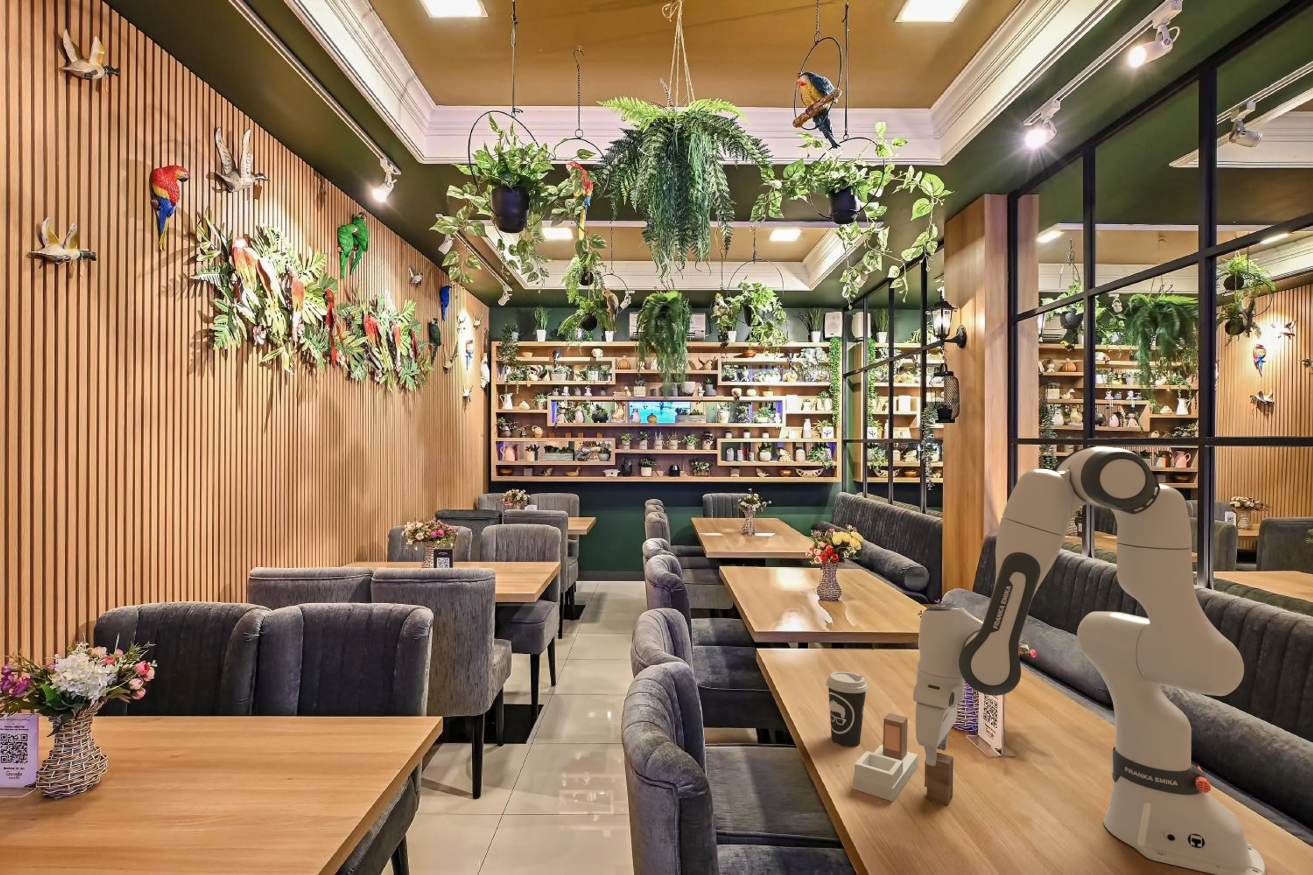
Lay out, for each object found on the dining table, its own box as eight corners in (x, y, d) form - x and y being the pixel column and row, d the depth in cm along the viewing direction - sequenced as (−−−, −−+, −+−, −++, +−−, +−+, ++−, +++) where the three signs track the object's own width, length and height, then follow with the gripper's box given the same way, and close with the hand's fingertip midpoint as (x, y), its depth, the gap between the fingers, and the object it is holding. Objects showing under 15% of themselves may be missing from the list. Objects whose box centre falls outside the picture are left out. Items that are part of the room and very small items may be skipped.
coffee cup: (868, 751, 153) (870, 685, 153) (825, 746, 154) (827, 681, 155) (864, 734, 162) (866, 672, 162) (823, 730, 164) (825, 668, 164)
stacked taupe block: (928, 789, 136) (929, 749, 136) (952, 796, 133) (953, 756, 134) (923, 797, 133) (924, 756, 133) (948, 805, 130) (949, 763, 130)
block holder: (917, 765, 146) (918, 717, 147) (892, 801, 131) (894, 747, 131) (880, 755, 151) (881, 708, 151) (852, 788, 135) (853, 736, 136)
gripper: (934, 670, 144) (931, 735, 143) (910, 694, 127) (907, 768, 126) (966, 677, 140) (963, 744, 140) (946, 702, 123) (942, 778, 123)
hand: (936, 756), depth 133 cm, fingers open, 8 cm apart
